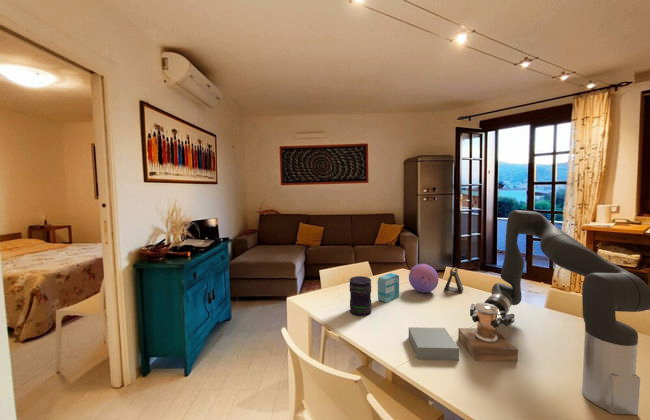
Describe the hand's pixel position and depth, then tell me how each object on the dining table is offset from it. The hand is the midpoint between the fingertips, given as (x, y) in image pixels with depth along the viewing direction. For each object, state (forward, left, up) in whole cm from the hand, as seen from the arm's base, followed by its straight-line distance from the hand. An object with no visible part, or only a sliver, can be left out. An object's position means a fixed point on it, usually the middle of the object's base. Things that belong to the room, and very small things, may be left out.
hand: (484, 322), depth 91 cm
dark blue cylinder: (+30, +39, -11) cm, 51 cm away
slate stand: (+2, +16, -11) cm, 20 cm away
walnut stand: (+2, -2, -11) cm, 11 cm away
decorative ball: (+55, +4, -11) cm, 56 cm away
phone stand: (+58, -13, -11) cm, 60 cm away
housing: (+2, -2, -7) cm, 7 cm away
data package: (+45, +24, -11) cm, 52 cm away
